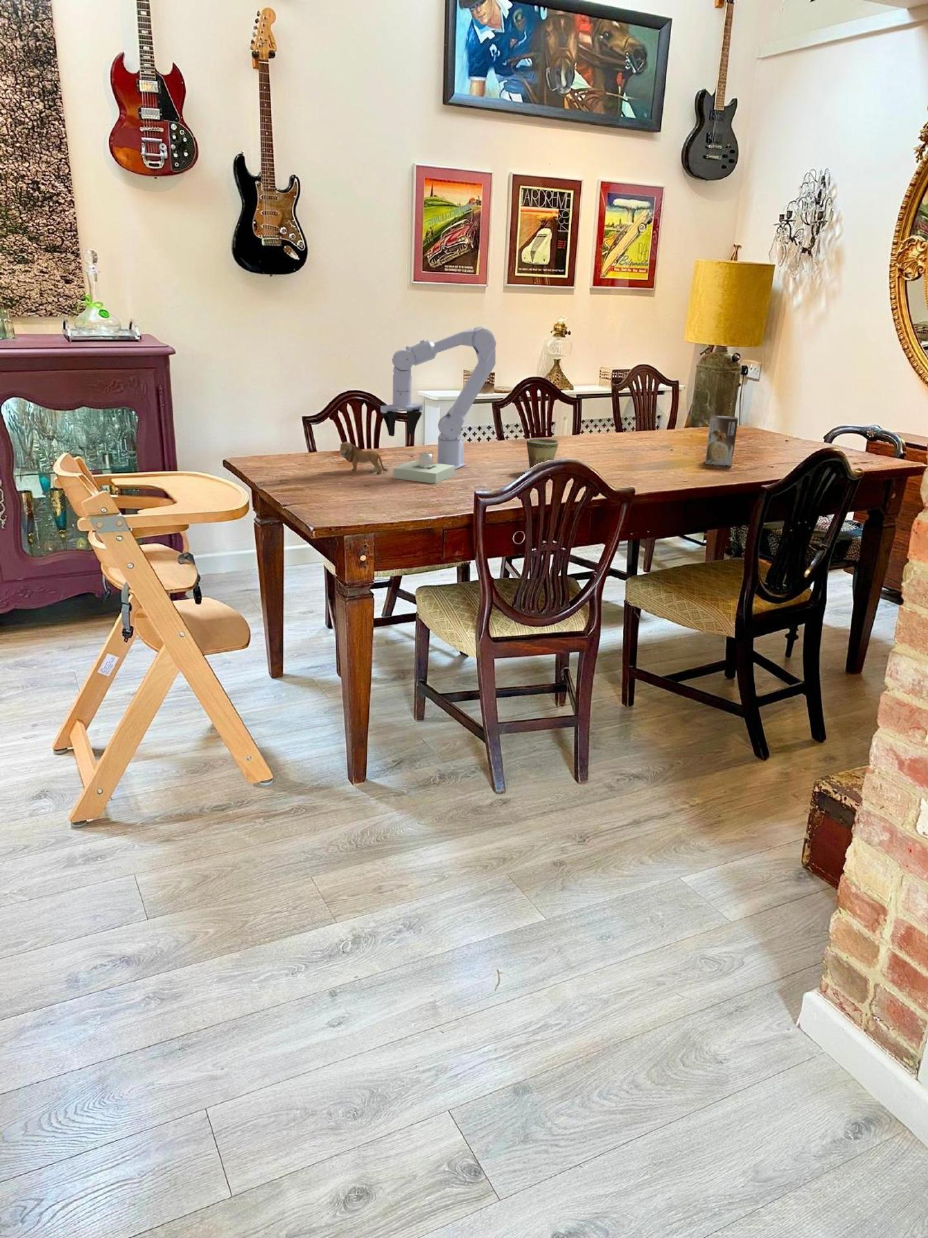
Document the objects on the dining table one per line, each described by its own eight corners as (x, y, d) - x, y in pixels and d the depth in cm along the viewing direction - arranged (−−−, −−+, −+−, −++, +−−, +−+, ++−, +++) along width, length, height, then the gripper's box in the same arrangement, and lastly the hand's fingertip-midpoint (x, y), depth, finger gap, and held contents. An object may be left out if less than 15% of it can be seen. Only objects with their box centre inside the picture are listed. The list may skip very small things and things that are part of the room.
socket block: (413, 469, 273) (414, 460, 272) (454, 475, 268) (455, 465, 267) (393, 477, 261) (393, 467, 260) (435, 483, 256) (436, 473, 255)
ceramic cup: (554, 476, 272) (556, 444, 269) (522, 474, 274) (524, 442, 270) (558, 468, 284) (560, 437, 281) (528, 466, 286) (530, 435, 282)
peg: (421, 474, 267) (421, 451, 264) (433, 476, 266) (434, 453, 263) (417, 477, 263) (417, 454, 261) (429, 478, 262) (430, 455, 260)
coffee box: (731, 463, 306) (738, 416, 301) (731, 466, 301) (739, 419, 295) (704, 460, 308) (710, 414, 302) (704, 464, 302) (711, 417, 297)
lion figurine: (338, 472, 265) (338, 443, 262) (341, 469, 270) (341, 440, 267) (386, 474, 265) (387, 445, 262) (388, 471, 270) (388, 442, 267)
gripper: (389, 393, 262) (389, 438, 267) (428, 391, 271) (427, 435, 276) (376, 390, 267) (376, 434, 272) (415, 388, 276) (414, 431, 281)
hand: (401, 434), depth 274 cm, fingers open, 7 cm apart
